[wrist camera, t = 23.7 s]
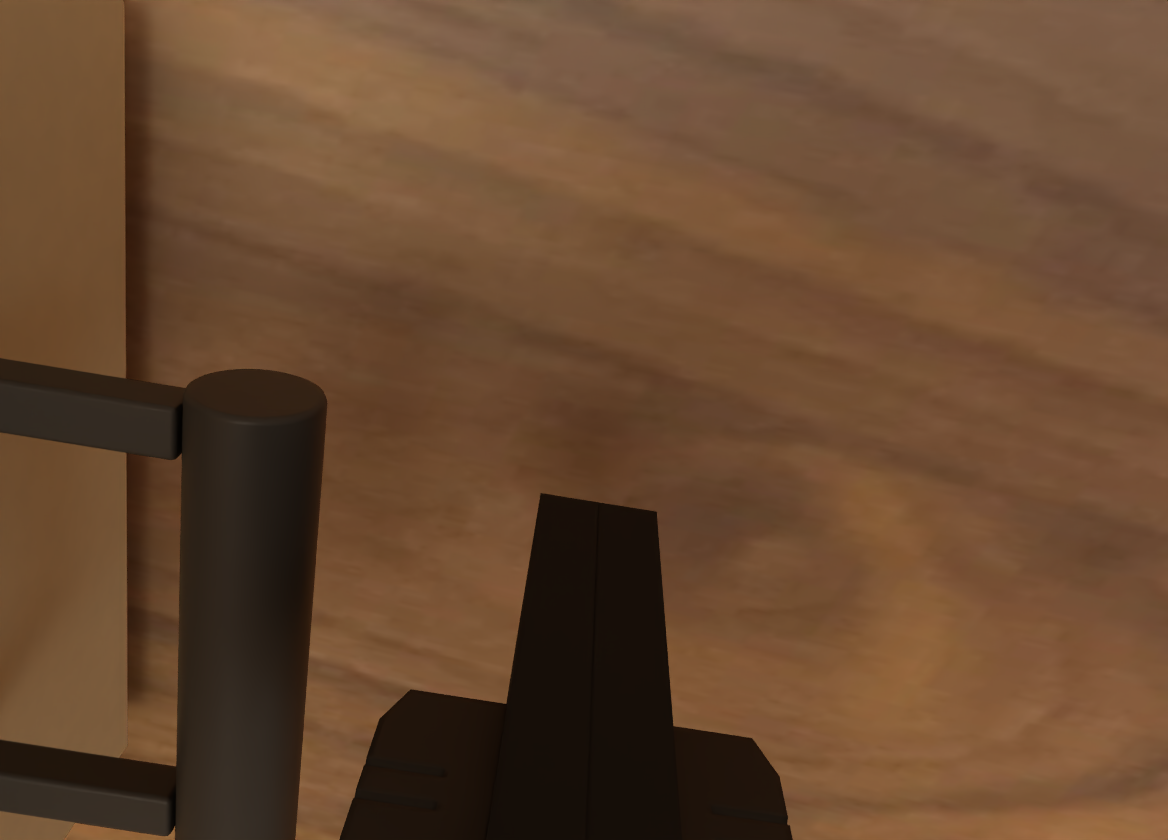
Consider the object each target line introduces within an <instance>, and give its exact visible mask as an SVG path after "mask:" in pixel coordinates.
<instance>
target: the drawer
mask: <svg viewBox="0 0 1168 840" xmlns="http://www.w3.org/2000/svg"><path fill="white" fill-rule="evenodd" d="M326 415H327V398H326V396H325V394H324V392H323V390H322V389H321V388H320V387H319V386H317V385H316V384H314V383H313V382H311V381H309V380H306V379H304V378H301V377H298V376H295V375H291V374H287V373H282V372H277V371H270V370H260V369H236V370H226V371H219V372H214V373H210V374H207V375H204V376H201V377H199V378H197V379H195V380H193V381H192V382H190V384H189V385H188V386H187V388H180V387H174V386H168V385H162V384H156V383H150V382H144V381H138V380H131V379H126V247H125V24H124V1H123V0H0V840H64V839H65V837H66V836H67V834H68V833H69V831H70V830H71V828H72V827H73V825H74V824H75V823H80V824H87V825H94V826H100V827H107V828H113V829H120V830H126V831H133V832H139V833H146V834H152V835H159V836H168V835H169V834H170V833H171V832H172V830H173V828H174V826H175V840H295V836H296V822H297V809H298V795H299V781H300V768H301V754H302V741H303V727H304V714H305V700H306V687H307V673H308V659H309V646H310V632H311V619H312V605H313V592H314V578H315V565H316V551H317V537H318V524H319V510H320V497H321V483H322V470H323V456H324V442H325V429H326ZM126 453H130V454H136V455H142V456H149V457H155V458H161V459H167V460H174V459H176V458H177V457H178V456H179V455H180V454H181V453H182V477H181V534H180V591H179V648H178V705H177V762H176V767H175V766H169V765H162V764H156V763H149V762H143V761H136V760H130V759H123V758H119V757H120V756H121V754H122V753H123V751H124V750H125V748H126V747H127V745H128V695H127V471H126Z"/></svg>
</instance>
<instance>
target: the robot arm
mask: <svg viewBox="0 0 1168 840" xmlns="http://www.w3.org/2000/svg"><path fill="white" fill-rule="evenodd" d="M787 819H788V815H787V810H786V806H785V801H784V796H783V791H782V787H781V782H780V777H779V775H778V774H777V772H776V771H775V770H774V768H773V767H772V765H771V764H770V763H769V761H768V760H767V758H766V757H765V756H764V754H763V753H762V751H761V750H760V749H759V747H758V746H757V744H756V743H755V742H754V740H753V739H752V738H747V737H741V736H734V735H728V734H721V733H714V732H708V731H701V730H695V729H688V728H682V727H675V726H673V716H672V703H671V690H670V677H669V665H668V652H667V639H666V626H665V613H664V601H663V588H662V575H661V562H660V549H659V537H658V524H657V512H655V511H649V510H643V509H636V508H630V507H624V506H618V505H611V504H605V503H599V502H593V501H586V500H580V499H574V498H568V497H561V496H555V495H549V494H542V493H541V495H540V501H539V507H538V513H537V519H536V525H535V531H534V538H533V544H532V550H531V556H530V562H529V568H528V574H527V580H526V586H525V593H524V599H523V605H522V611H521V617H520V623H519V629H518V635H517V641H516V648H515V654H514V660H513V666H512V672H511V678H510V685H509V691H508V697H507V704H503V703H496V702H490V701H483V700H477V699H470V698H463V697H457V696H450V695H444V694H437V693H431V692H424V691H418V690H410V691H408V692H407V693H406V694H405V695H404V696H403V697H402V698H401V699H400V700H399V701H398V702H397V703H396V704H395V705H394V706H393V707H392V708H391V709H390V710H388V711H387V712H386V713H385V714H384V715H383V716H382V717H381V718H380V719H379V722H378V725H377V728H376V731H375V734H374V737H373V740H372V743H371V746H370V749H369V752H368V755H367V759H366V764H365V765H364V767H363V770H362V773H361V776H360V779H359V782H358V785H357V788H356V793H355V797H354V798H353V800H352V803H351V806H350V809H349V812H348V815H347V818H346V821H345V824H344V827H343V830H342V833H341V836H340V839H339V840H793V839H792V834H791V829H790V825H787Z"/></svg>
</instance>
